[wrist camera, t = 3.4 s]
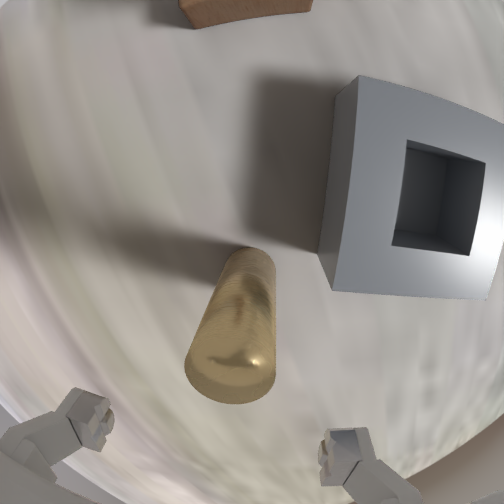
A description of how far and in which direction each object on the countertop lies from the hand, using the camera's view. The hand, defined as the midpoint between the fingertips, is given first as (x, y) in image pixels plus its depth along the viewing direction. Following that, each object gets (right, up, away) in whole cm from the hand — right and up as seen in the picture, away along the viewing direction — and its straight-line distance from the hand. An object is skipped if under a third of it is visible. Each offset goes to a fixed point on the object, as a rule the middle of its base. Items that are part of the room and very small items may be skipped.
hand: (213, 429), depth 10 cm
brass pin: (+1, +5, +14) cm, 15 cm away
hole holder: (+13, +11, +11) cm, 21 cm away
